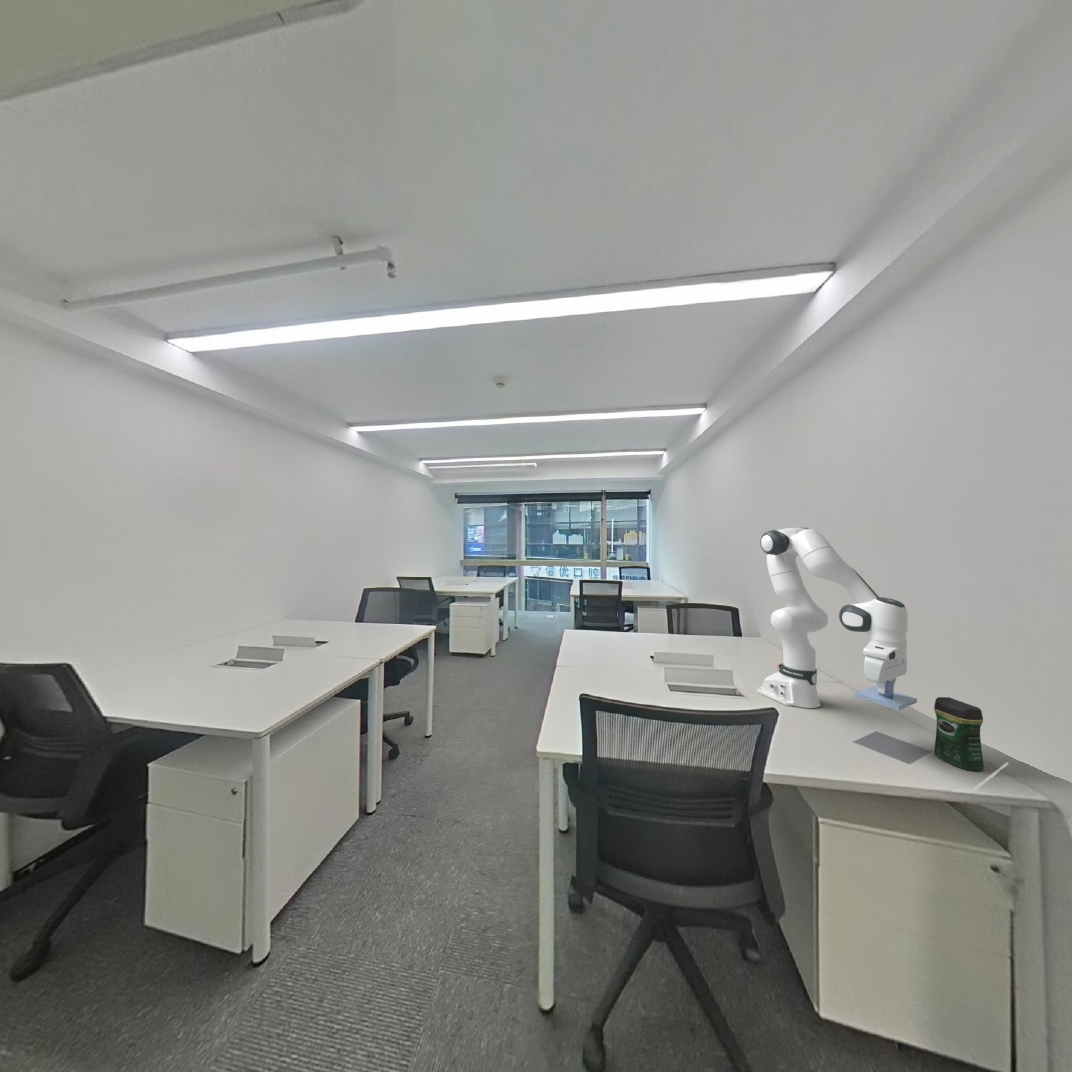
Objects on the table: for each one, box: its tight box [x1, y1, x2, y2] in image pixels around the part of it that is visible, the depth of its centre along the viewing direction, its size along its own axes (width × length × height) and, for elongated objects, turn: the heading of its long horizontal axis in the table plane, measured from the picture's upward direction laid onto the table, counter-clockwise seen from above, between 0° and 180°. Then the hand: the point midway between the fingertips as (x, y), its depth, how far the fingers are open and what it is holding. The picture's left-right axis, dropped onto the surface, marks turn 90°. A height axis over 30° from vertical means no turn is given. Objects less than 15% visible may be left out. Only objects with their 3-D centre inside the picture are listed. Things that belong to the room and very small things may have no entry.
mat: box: [852, 731, 932, 765], centre depth 122 cm, size 14×16×1 cm
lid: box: [854, 680, 918, 712], centre depth 124 cm, size 11×13×6 cm
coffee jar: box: [933, 696, 984, 772], centre depth 114 cm, size 10×8×19 cm
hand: (885, 691), depth 124 cm, fingers closed on lid, 4 cm apart
